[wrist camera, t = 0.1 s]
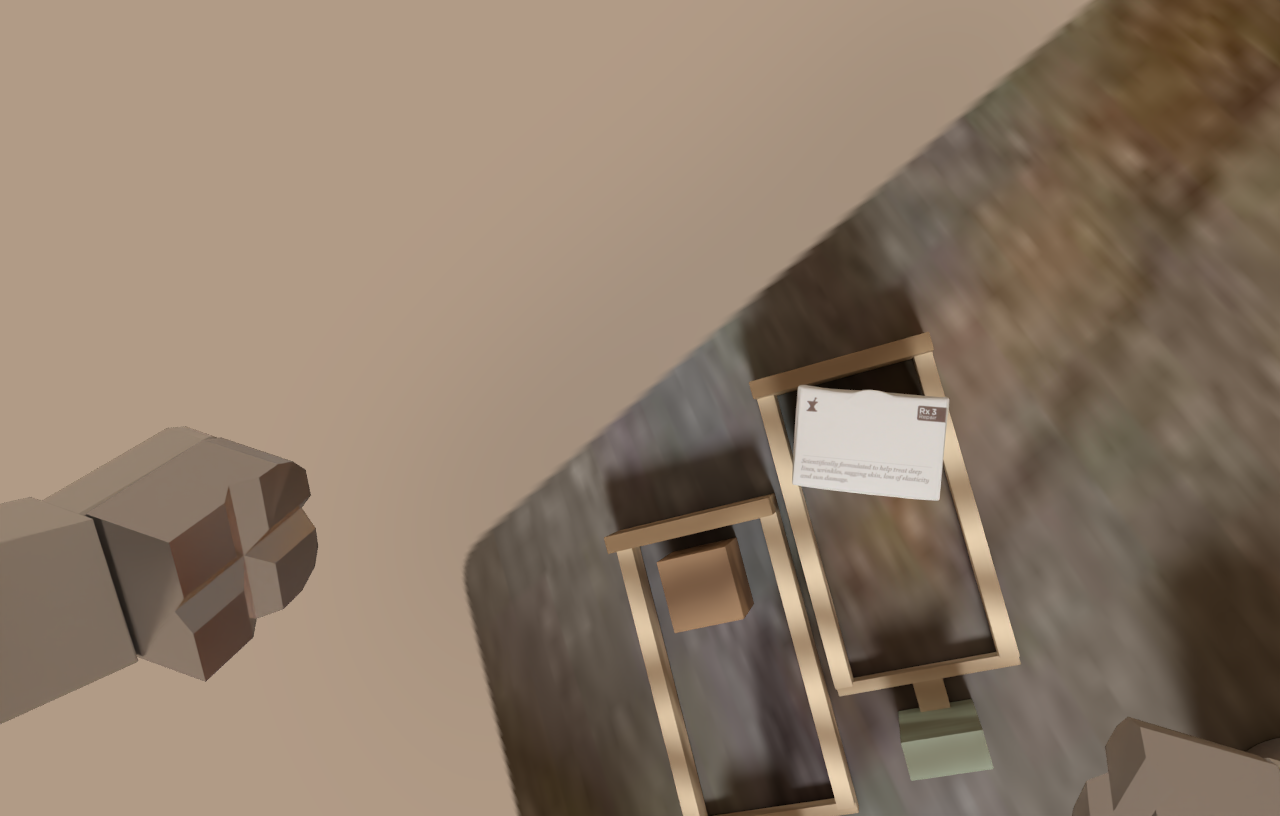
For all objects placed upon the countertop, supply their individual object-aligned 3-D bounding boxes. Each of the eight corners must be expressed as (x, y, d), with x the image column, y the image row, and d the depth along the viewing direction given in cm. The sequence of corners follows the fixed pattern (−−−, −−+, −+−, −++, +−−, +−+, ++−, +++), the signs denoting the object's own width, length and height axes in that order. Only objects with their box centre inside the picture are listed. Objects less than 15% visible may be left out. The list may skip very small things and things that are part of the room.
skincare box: (803, 473, 61) (781, 490, 47) (810, 390, 61) (790, 382, 47) (924, 486, 59) (940, 508, 45) (932, 400, 59) (950, 395, 45)
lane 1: (875, 868, 59) (875, 917, 54) (710, 888, 63) (694, 936, 57) (774, 493, 62) (764, 500, 56) (620, 530, 65) (595, 541, 59)
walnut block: (754, 603, 62) (744, 618, 57) (689, 616, 63) (674, 633, 59) (736, 536, 63) (725, 546, 58) (673, 551, 64) (656, 562, 59)
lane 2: (1037, 724, 57) (1055, 759, 51) (856, 753, 60) (854, 789, 54) (925, 337, 59) (930, 328, 53) (756, 384, 62) (744, 380, 56)
